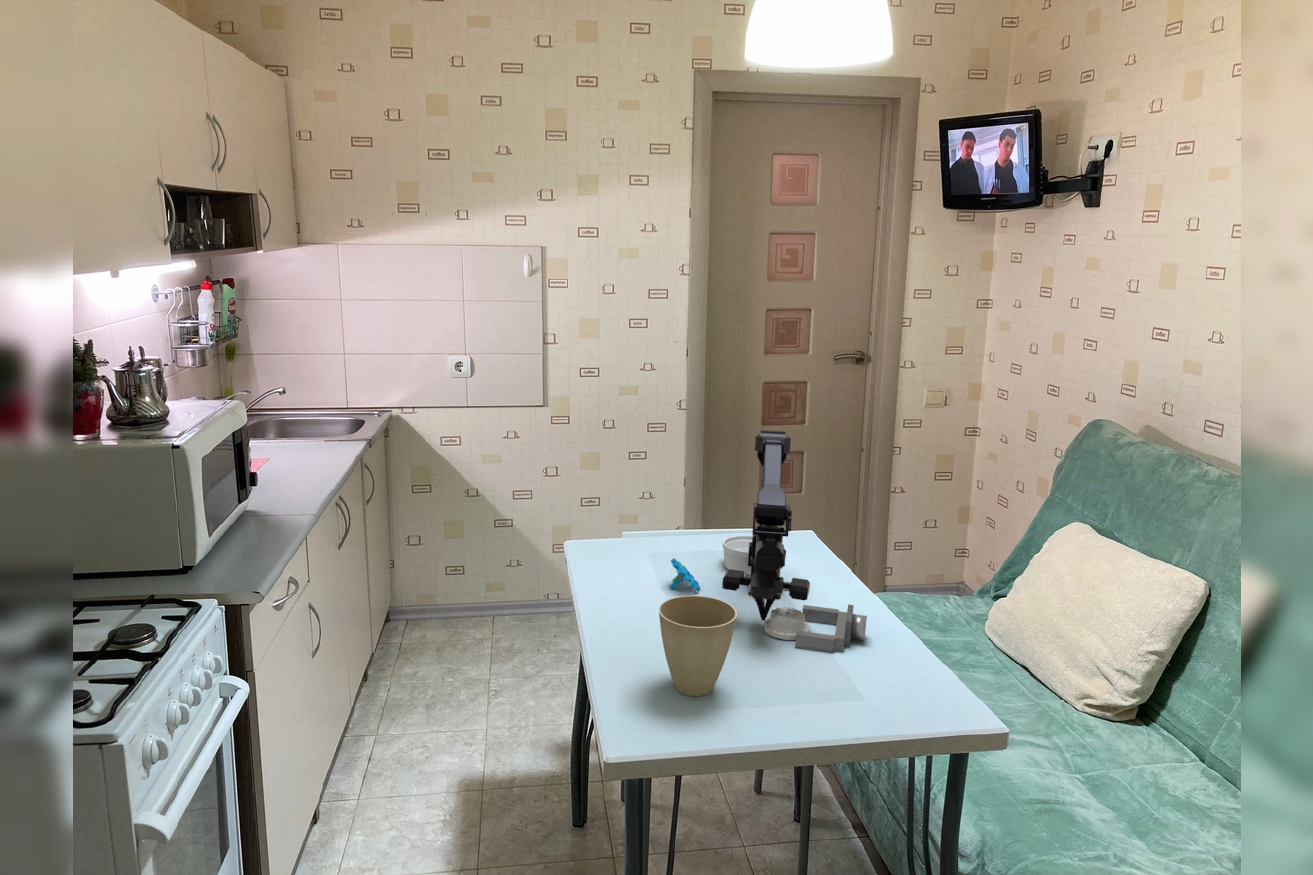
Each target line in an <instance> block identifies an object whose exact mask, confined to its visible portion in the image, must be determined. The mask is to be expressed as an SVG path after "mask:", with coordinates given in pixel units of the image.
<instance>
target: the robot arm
mask: <svg viewBox="0 0 1313 875" xmlns="http://www.w3.org/2000/svg"><path fill="white" fill-rule="evenodd" d="M754 436H755V438H754V451H755V452H757V453H756V455H757V456H756V457H757V459H758V462H759V464H761V467H762V473H761V474H762V475H761V488H760V490H759V492H758V493H757V502H754V503H753V515H752V516H753V517H752V535H751V536H752V542H749V552H748V566H749V567H750V566H751V576H745V575H744V571H739V570H732V569H729V570H728V569H727V570H726V572H725V574H724V576H723V578H722V584H721V586H722V587H721V588H722V589H723V590H727V591H734V592H735V591H737V590H739V588H740V586H746V587H748V592H747V595H748V596H750V597H752V598H753V599H754V601H755V603H756V606H757V609H758V612H759V615H760V619H761V621H762V622H763V621H764V622H765V621H766V620H767V616H768V614H769V613H770V612H769V611H770V609H771V607H772V605H773V604H774V602H775V601H780V599H782V596H783V593H784V592H788V596H789V597H790V599H792V600H800V601H807V600H808V598H809V595H810V594H809V593H810V590H811V589H810V588H811V582H810V581H809V580H808V579H803V578H797V577H792V578H791V582H789V581H788V582H787V581H784V577H783V576H781V569H783V567H786V555H787V550H786V548H785V547H784V544H783V540H784V539H783V538H784V537H789V532H792V519H793V518H792V513H793V511H792V509H791V506H790V505H789V504H787V494H786V493H785V491H784V490H783V489H782V466H783V464H784V463H785V461H786V460H787V455H788V454H790V453H791V441H792V437H791V436H790V435H787V434H786V431H784V430H783V431H782V430H764V429H760V432H759V434H757V433H756V434H755V435H754ZM756 524H758V526H756ZM784 525H785V528H784V527H783V526H784ZM750 557H751V558H750Z"/></svg>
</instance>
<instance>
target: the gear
mask: <svg viewBox="0 0 1313 875" xmlns="http://www.w3.org/2000/svg"><path fill="white" fill-rule="evenodd" d="M670 562H671V564H672V567H673V568H674V569H675V570H676V572H677V575H676V576H675V577H673V579H672V580H671V581H672V582H673V583H671V584H670V586H669V588H670V589H671V590H673V589H675V588H676V587H677V586H678V585H679V584H680V583H681V582H686V583H687V582H688V584H689V586H690V588H692V589H694V590H695V592H698V591H699V590H701V586H700V585H699V582H698V581H697V580H696V579H695V576H694V575H693V574H692V573H691V572H690V571H689V570H688V569H687V567H686V566H685V565H684V564H682V563H681V561H679V560H677V559H676V558H675V557H673V558H672V559H671V560H670Z"/></svg>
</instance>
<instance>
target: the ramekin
mask: <svg viewBox="0 0 1313 875" xmlns="http://www.w3.org/2000/svg"><path fill="white" fill-rule="evenodd" d="M749 542H752V535H750V534H749V535H748V534H741V535H732V536H729V537H727V538H725V539H724V540H723V541H722V548H723V559H724V565H725V567H726V568H727V571H728V570H729V569H732V570H739V571H744V576H746V577H751V566H750V567H749V566H748V552H749ZM750 558H751V557H750Z"/></svg>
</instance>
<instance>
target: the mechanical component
mask: <svg viewBox="0 0 1313 875" xmlns="http://www.w3.org/2000/svg"><path fill="white" fill-rule="evenodd" d="M763 624H764V626H763V627H764V631H765V633H766V634H767V635H769V636H771V637H773V638H776V639H780V640H785V641H796V633H797V631H805V632H811V631H810V624H809V623H808V622H807V621H805V614H804V613H802V609H796V608H795V607H790V606H787V607H786V606H783V607H776V608H775V609H771V611H770V617H769V618H766V619H765V621H764V623H763Z"/></svg>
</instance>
